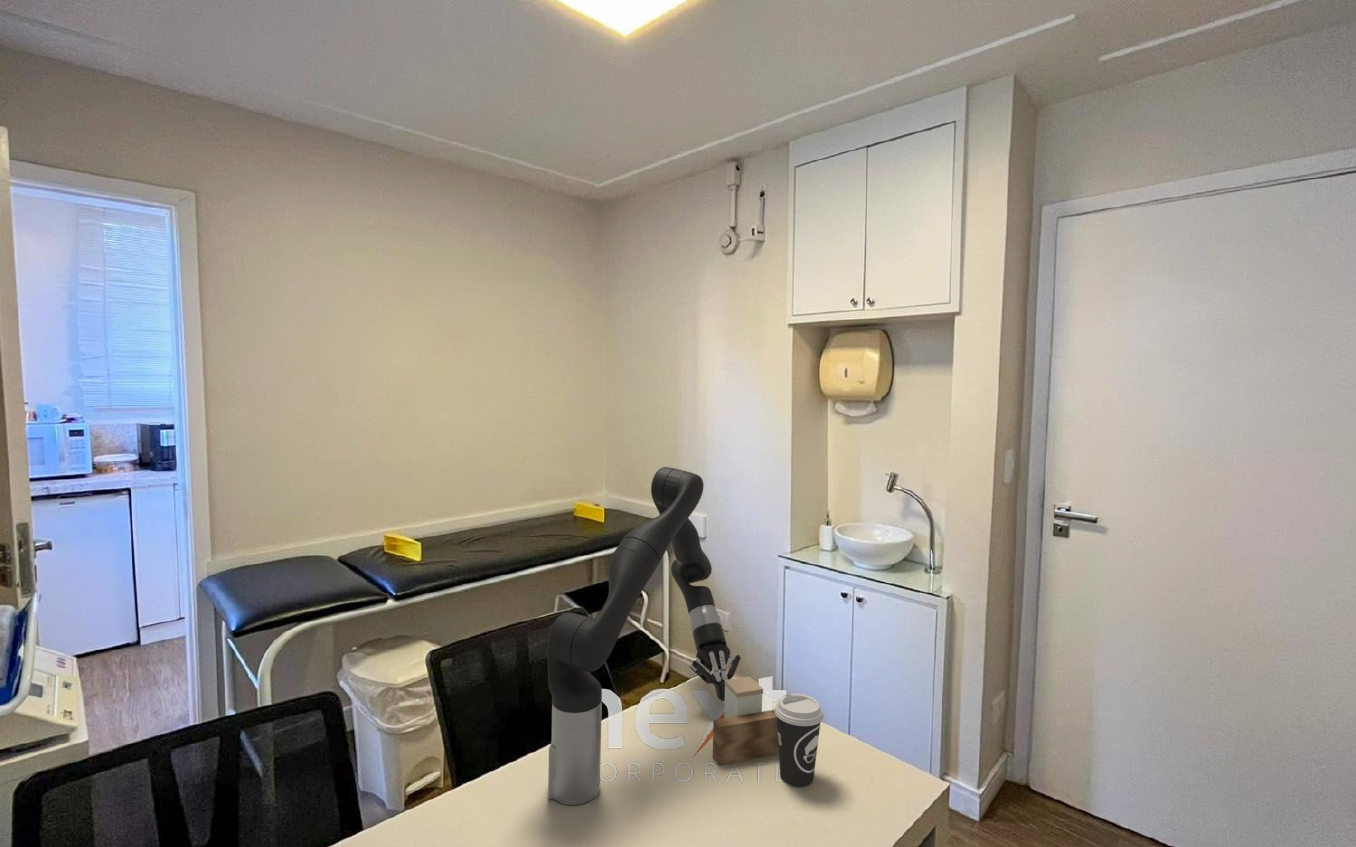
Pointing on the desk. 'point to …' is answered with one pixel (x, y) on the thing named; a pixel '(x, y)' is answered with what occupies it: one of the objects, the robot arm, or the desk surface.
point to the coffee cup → (798, 737)
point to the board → (745, 737)
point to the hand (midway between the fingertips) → (725, 699)
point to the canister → (742, 697)
